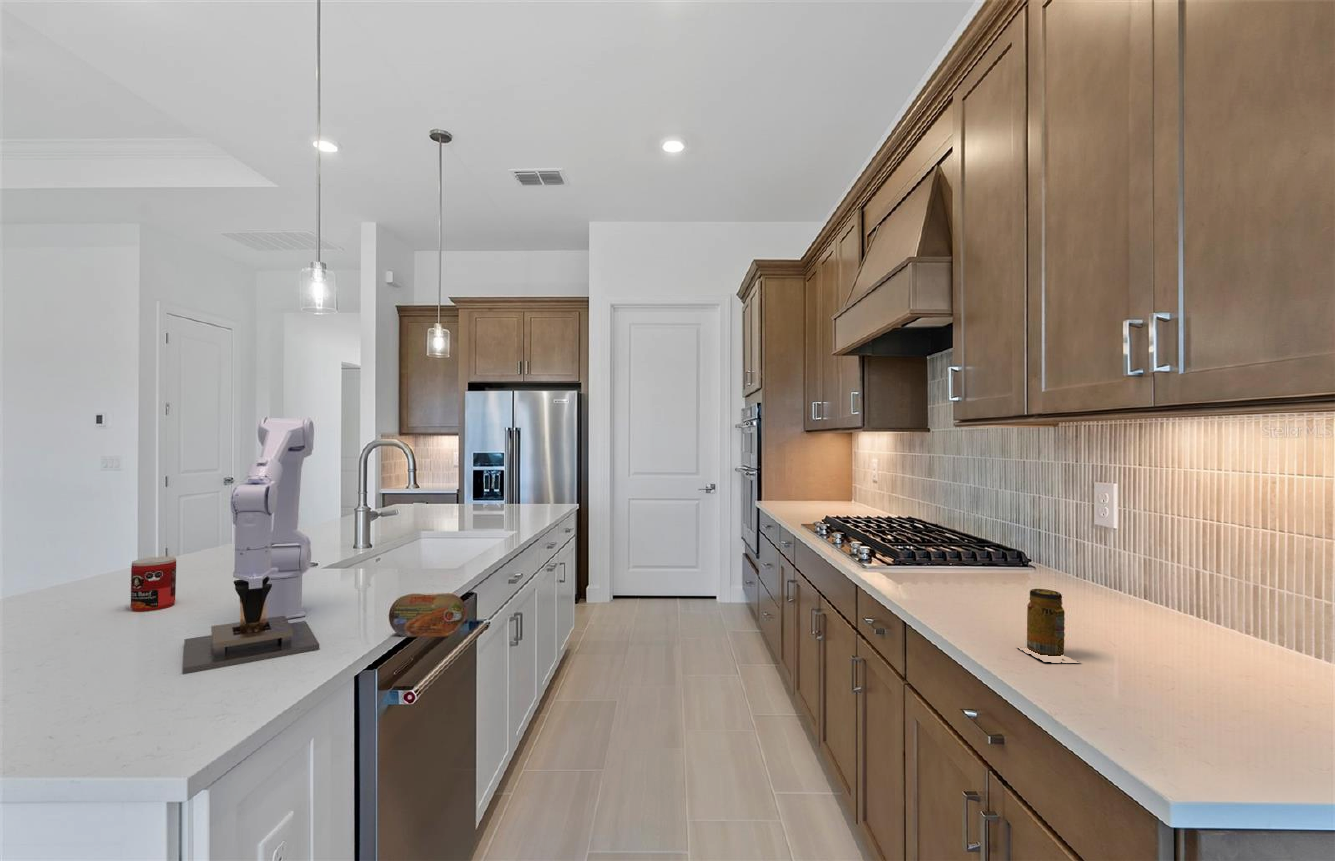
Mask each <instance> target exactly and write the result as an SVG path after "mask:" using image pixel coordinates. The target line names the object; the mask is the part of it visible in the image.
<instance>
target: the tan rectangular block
mask: <svg viewBox="0 0 1335 861" xmlns="http://www.w3.org/2000/svg"><path fill="white" fill-rule="evenodd" d="M239 603H240V604H239V606H240V608H239V609H240V611H239V612H240V614H239V615H240V616H239V618H240V620H239V622H240V634H246V633H252V632H258V631H265V630H266V599H265V602H264V606H263V611H262V615H261V619H260V621H259V622H255V623H248V624H246V621H245V618H244V612H243V606H242V602H241V599H240V598H239Z"/></svg>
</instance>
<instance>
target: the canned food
mask: <svg viewBox="0 0 1335 861" xmlns="http://www.w3.org/2000/svg"><path fill="white" fill-rule="evenodd" d="M130 568H131V570H130V572H131V573H130V608H131V611H132V612H138V613H139V612H142V613H143V612H152V611H154V612H155V611H158V610H163V609H167V608H170V607H173V606H174V605H175V602H176V595H177V594H176V591H177V590H176V586H177V557H175V556H153V557H147V558H139V559H136V560H133V561H132V562H131V567H130Z"/></svg>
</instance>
